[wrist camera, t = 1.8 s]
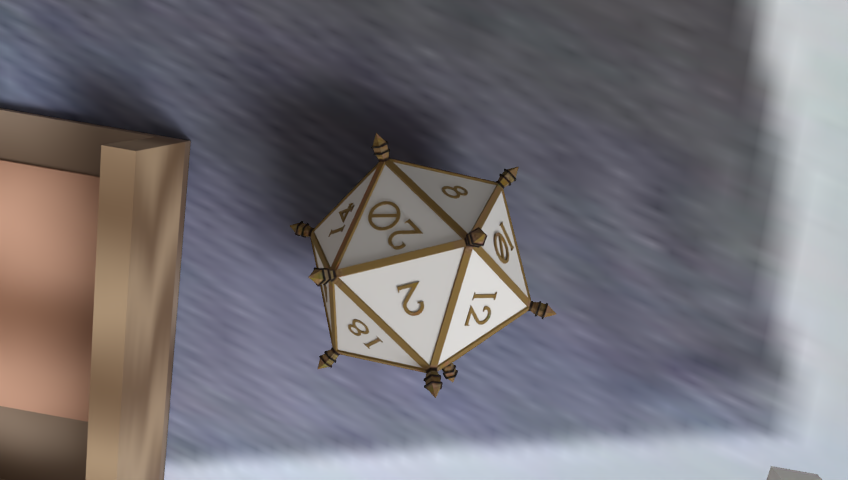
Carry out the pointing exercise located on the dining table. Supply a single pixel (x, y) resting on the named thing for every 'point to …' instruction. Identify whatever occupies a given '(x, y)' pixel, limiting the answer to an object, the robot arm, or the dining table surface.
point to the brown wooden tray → (87, 297)
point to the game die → (418, 267)
